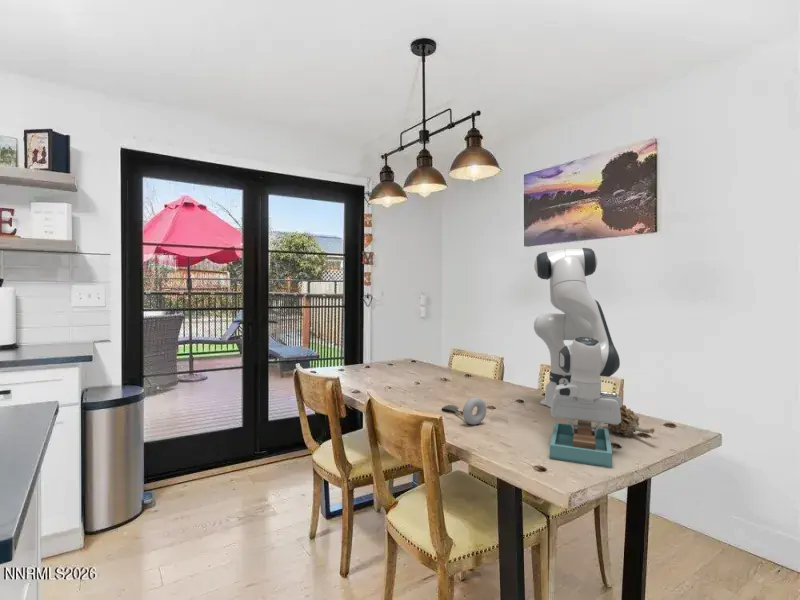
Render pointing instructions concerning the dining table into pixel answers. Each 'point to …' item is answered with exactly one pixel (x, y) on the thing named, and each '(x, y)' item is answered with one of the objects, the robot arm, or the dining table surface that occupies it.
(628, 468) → the dining table surface
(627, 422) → the pine cone
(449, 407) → the soupspoon
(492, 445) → the dining table surface
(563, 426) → the serving bin
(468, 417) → the donut
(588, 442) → the stepped brown block
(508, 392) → the dining table surface
